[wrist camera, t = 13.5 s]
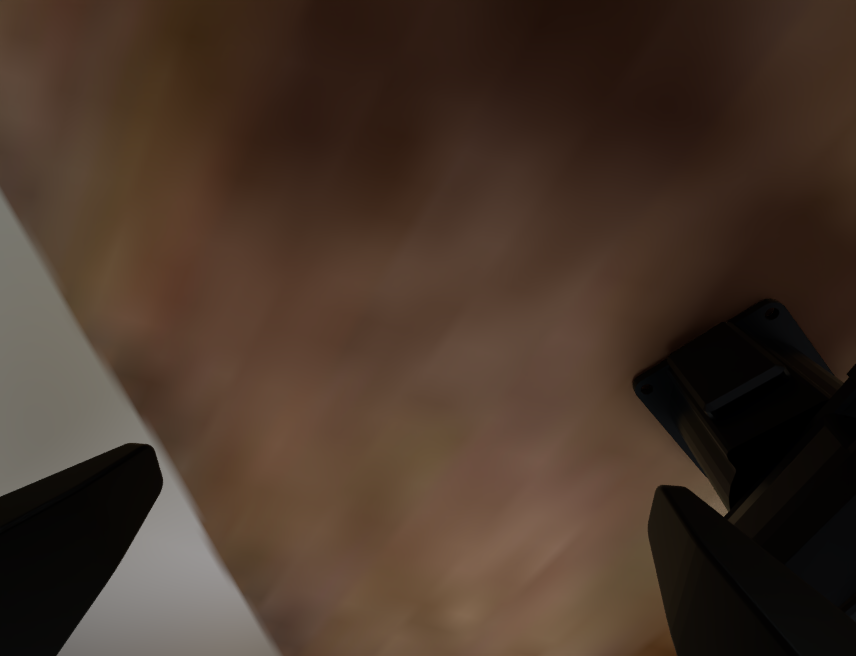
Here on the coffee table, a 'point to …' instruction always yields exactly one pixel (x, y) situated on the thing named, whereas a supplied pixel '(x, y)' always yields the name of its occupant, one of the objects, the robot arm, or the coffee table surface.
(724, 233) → the coffee table surface
